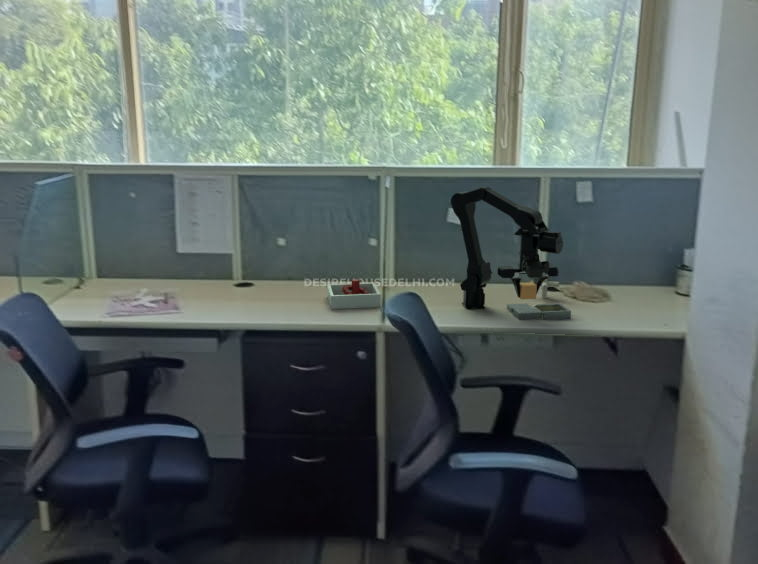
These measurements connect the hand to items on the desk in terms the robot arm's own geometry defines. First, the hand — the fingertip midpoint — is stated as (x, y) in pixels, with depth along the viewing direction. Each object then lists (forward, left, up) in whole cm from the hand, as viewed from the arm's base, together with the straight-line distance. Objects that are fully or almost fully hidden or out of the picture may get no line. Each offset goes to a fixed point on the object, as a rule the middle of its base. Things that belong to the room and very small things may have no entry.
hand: (526, 296), depth 239 cm
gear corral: (-54, +26, -7) cm, 60 cm away
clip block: (0, 0, 0) cm, 0 cm away
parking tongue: (0, +7, -7) cm, 10 cm away
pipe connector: (+14, +21, -7) cm, 26 cm away
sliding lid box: (+5, 0, -7) cm, 8 cm away
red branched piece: (-52, +26, -7) cm, 58 cm away
